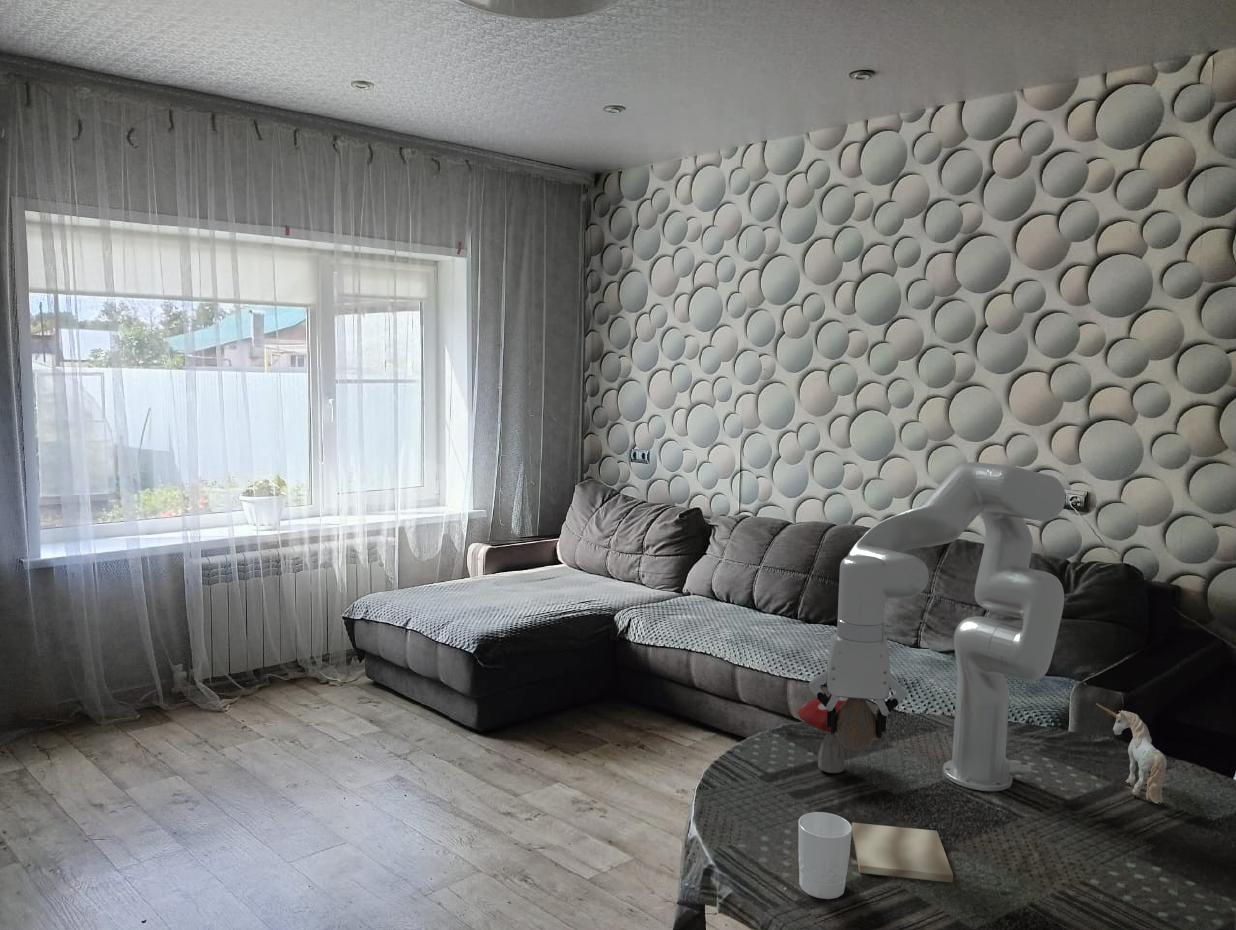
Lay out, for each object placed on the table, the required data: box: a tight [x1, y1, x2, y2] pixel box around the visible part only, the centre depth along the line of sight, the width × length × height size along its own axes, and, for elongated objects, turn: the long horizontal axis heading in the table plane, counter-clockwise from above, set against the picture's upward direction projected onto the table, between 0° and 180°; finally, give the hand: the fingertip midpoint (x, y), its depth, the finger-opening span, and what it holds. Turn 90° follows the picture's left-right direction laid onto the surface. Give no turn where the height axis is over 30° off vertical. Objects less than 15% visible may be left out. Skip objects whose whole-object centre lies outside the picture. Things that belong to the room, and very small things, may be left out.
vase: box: [835, 698, 877, 751], centre depth 156 cm, size 7×7×9 cm
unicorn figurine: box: [1095, 703, 1168, 804], centre depth 176 cm, size 7×20×13 cm, turn 4°
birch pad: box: [851, 822, 954, 883], centre depth 151 cm, size 14×14×1 cm
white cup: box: [797, 811, 852, 900], centre depth 140 cm, size 8×8×10 cm
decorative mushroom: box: [796, 697, 878, 774], centre depth 182 cm, size 16×16×15 cm
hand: (855, 732), depth 156 cm, fingers closed on vase, 7 cm apart
